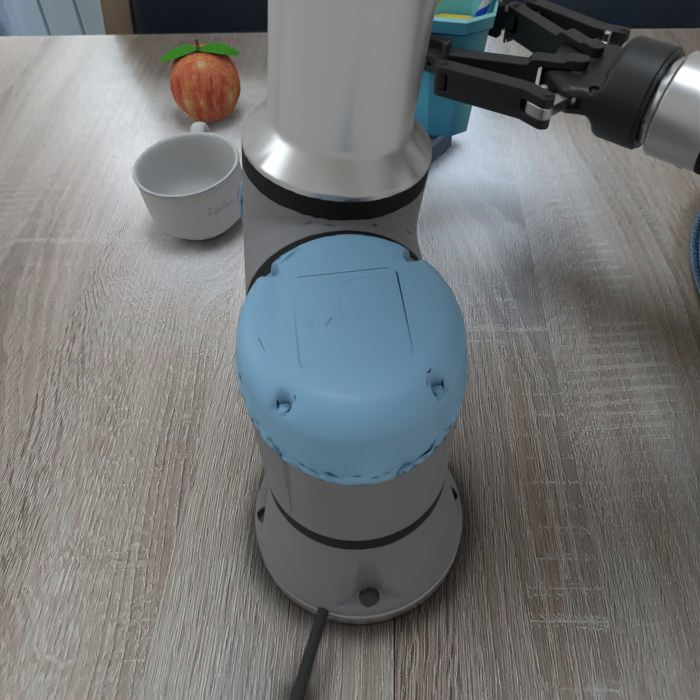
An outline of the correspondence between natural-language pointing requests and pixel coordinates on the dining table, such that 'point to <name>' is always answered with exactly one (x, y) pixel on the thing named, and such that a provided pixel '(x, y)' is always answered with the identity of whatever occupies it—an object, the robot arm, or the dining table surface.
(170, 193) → the teacup
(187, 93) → the fruit
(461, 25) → the cup
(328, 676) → the dining table surface
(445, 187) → the dining table surface
